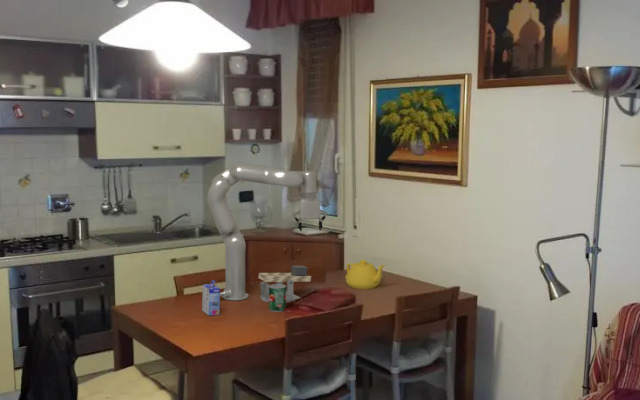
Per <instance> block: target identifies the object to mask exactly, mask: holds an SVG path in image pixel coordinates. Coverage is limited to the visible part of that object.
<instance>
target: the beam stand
mask: <svg viewBox="0 0 640 400" xmlns="http://www.w3.org/2000/svg"><path fill="white" fill-rule="evenodd" d="M283 283H284V282H275V284H283ZM269 285H270V283H269V282H265V281H260V300H261V301H263V302H265V303H269ZM283 285H284V284H283ZM299 298H301V297H300V296H298V295H296V294H294V282H293V280H287V282H286V303H292V302H291V301H293V302H295V301H294V300H296V299H299Z"/></svg>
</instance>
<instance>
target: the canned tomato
mask: <svg viewBox="0 0 640 400" xmlns="http://www.w3.org/2000/svg"><path fill="white" fill-rule="evenodd" d="M286 291H287V284H286V285H285V284H276V283H273V284H269V302H268V310H269V311H270V312H275V313H280V312H281V311H282V312H284V311H283V310H284V308H285V307H286V308H287V302H286ZM282 312H281V313H282Z"/></svg>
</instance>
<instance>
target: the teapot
mask: <svg viewBox="0 0 640 400" xmlns="http://www.w3.org/2000/svg"><path fill="white" fill-rule="evenodd" d="M367 261H368V260H366V259H361V260H359V262H355V263H353V262H351V263H348V264H347V265H346V273H347V274H345V282H346V284H347V285H348V286H349V287H350V288H351V289H352V288H353V289H355V290H356V289H358V290H370V289H375V288H377V287H378V285H380V282H381V280H382V278H383V277H382V276H383V267H384V266H385V264H381V265H379V266H378V268H376V267H375V265H374V264H373V263H371V262H367Z"/></svg>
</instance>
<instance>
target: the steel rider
mask: <svg viewBox="0 0 640 400" xmlns="http://www.w3.org/2000/svg"><path fill="white" fill-rule="evenodd" d="M290 273H291V276H307V275H308V274H307V273H308V267H307V266H304V265H291V272H290Z"/></svg>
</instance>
